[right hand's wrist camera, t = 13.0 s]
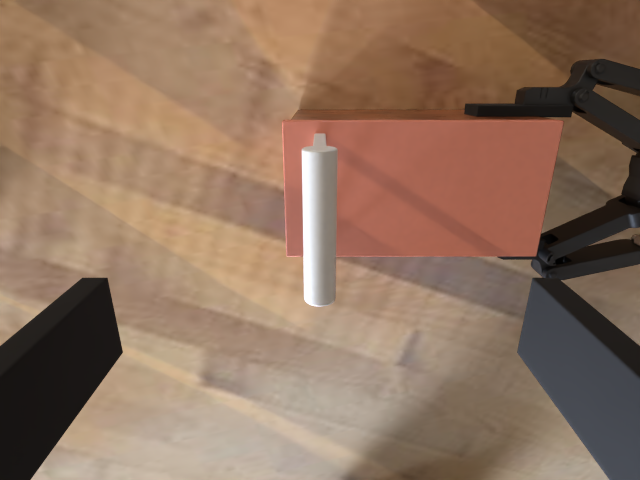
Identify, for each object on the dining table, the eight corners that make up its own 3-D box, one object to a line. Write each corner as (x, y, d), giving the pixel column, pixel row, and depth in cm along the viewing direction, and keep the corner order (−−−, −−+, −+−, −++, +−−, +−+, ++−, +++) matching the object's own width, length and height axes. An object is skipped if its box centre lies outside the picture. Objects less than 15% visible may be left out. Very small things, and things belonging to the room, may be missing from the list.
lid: (287, 251, 30) (274, 316, 22) (283, 119, 26) (266, 137, 18) (530, 251, 30) (610, 317, 21) (556, 119, 26) (663, 137, 18)
